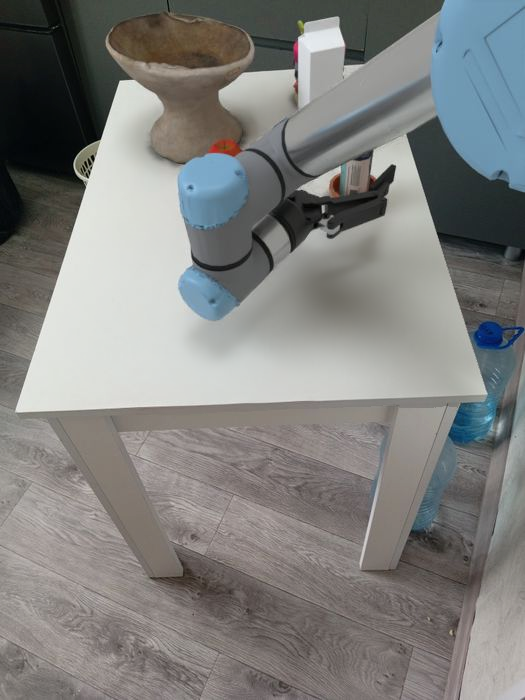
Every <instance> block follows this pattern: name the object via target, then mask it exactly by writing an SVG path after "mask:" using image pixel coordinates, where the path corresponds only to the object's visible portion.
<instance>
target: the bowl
mask: <svg viewBox="0 0 525 700" xmlns="http://www.w3.org/2000/svg"><path fill="white" fill-rule="evenodd" d="M105 47H106V49H107V50H108V52H109V54H110V55H111V57H112V58H113V59H114V61H115V62H116V63H117V64H118V65H119V66H120V67H121V69H122V70H123V71H124V72H125V73H126V74H127V75H128V76H129V77H130V78H131V79H133V80H134V81H135V82H137V84H139V85H140V86H142V87H143V88H145V89H146V90H148V91H149V92H151V93H153V94H155V95H156V97H157V98H158V99H159V101H160V102H161V104H162V107H163V112H162V115H160V117H158V118H157V119H156V120H155V122H154V123H153V125H152V128H151V131H150V135H149V136H150V137H149V139H150V144H151V147H152V149H153V151H154V152H155V153H156V154H157V155H158V156H161V157H162V158H164V159H167V160H170V161H172V162H174V163H179V164H186V163H187V162H189V161H190V160H192V159H193V158H195V157H199V158H202V157H204V156H205V155H206V154H208V152H209V150H210V148H211V147H212V145H213V144H214V143H216V142H218V141H219V140H222V139H229V140H232V141H234V142H235V143H236V144H237V145H239V143H240V142H241V139H242V134H243V127H242V124H241V123H240V121H239V119H237V117H236V116H234V115H233V113H231V111H230V110H228V109H227V108H225V107H224V106H223V104H222V103H221V101H220V95H219V92H220V91H221V90H223V89H225V88H227V87H228V86H230V84H232V83H233V82H235V81H237V79H238V78H239V77H240V76H241V75H243V74H244V73H245V72H246V70H247V69H248V68H249V67H250V65H251V64H252V62H253V60H254V57H255V49H256V48H255V44H254V41H253V40H252V37H251V36H250V35H249V34H248V33H247V32H246V31H245V30H244V29H242V28H240V27H238V26H236V25H232V24H228V23H225V22H222V21H219V20H215V19H213V18H209V17H204V16H199V15H192V14H187V13H186V14H183V13H174V12H169V11H167V10H165V11H161V12H154V13H148V14H144V15H137V16H133V17H130V18H127V19H125V20H122V21H120V22H118V23H116V24H115V25H114V26H113V27H112V28H111V29H110V31H109V32H108V34H107V35H106V38H105Z"/></svg>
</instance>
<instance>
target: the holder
mask: <svg viewBox="0 0 525 700" xmlns="http://www.w3.org/2000/svg"><path fill="white" fill-rule="evenodd" d="M340 176H341V172H340V173H337V174H335V175H334V176H333V177H332V178H331V179H330V181H329V184H328V196H330V197H331V198H334V197H340V195H339V189H340ZM376 179H377V178H376V177H375V176H374V175H372V173H370V181H369V186H370V185H371V184H372V183H373V182H374V181H375V180H376ZM368 190H369V189H368Z"/></svg>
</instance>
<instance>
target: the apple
mask: <svg viewBox="0 0 525 700" xmlns="http://www.w3.org/2000/svg"><path fill="white" fill-rule="evenodd" d="M242 151H243V149H242V147H240V145H239V144H236V143H235V142H234V141H232V140H229V139H222V140H219V141H218V142H216V143H214V144H213V145H212V147H211V148H210V150H209V152H208V154H209V153H222V154H227V155H230V156H232V157H235V156H236V155H237V154H239V153H240V152H242Z"/></svg>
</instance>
